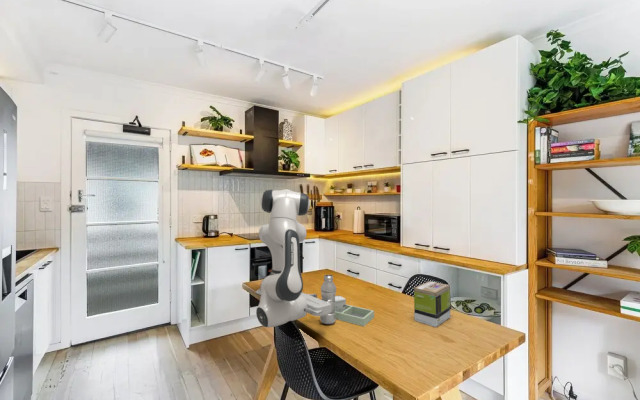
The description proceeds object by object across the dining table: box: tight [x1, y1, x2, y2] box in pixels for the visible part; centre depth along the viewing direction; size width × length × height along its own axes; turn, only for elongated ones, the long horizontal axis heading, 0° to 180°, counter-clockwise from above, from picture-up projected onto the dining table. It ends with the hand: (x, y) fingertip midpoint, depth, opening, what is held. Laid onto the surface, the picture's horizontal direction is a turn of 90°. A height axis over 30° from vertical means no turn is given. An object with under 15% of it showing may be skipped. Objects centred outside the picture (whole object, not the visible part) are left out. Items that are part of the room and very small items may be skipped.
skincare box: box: [335, 295, 347, 313], centre depth 135 cm, size 6×6×7 cm
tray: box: [335, 304, 375, 327], centre depth 132 cm, size 21×11×3 cm, turn 57°
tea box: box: [413, 280, 451, 328], centre depth 130 cm, size 15×10×15 cm, turn 134°
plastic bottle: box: [319, 274, 337, 325], centre depth 125 cm, size 6×7×20 cm
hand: (323, 298), depth 123 cm, fingers open, 8 cm apart
